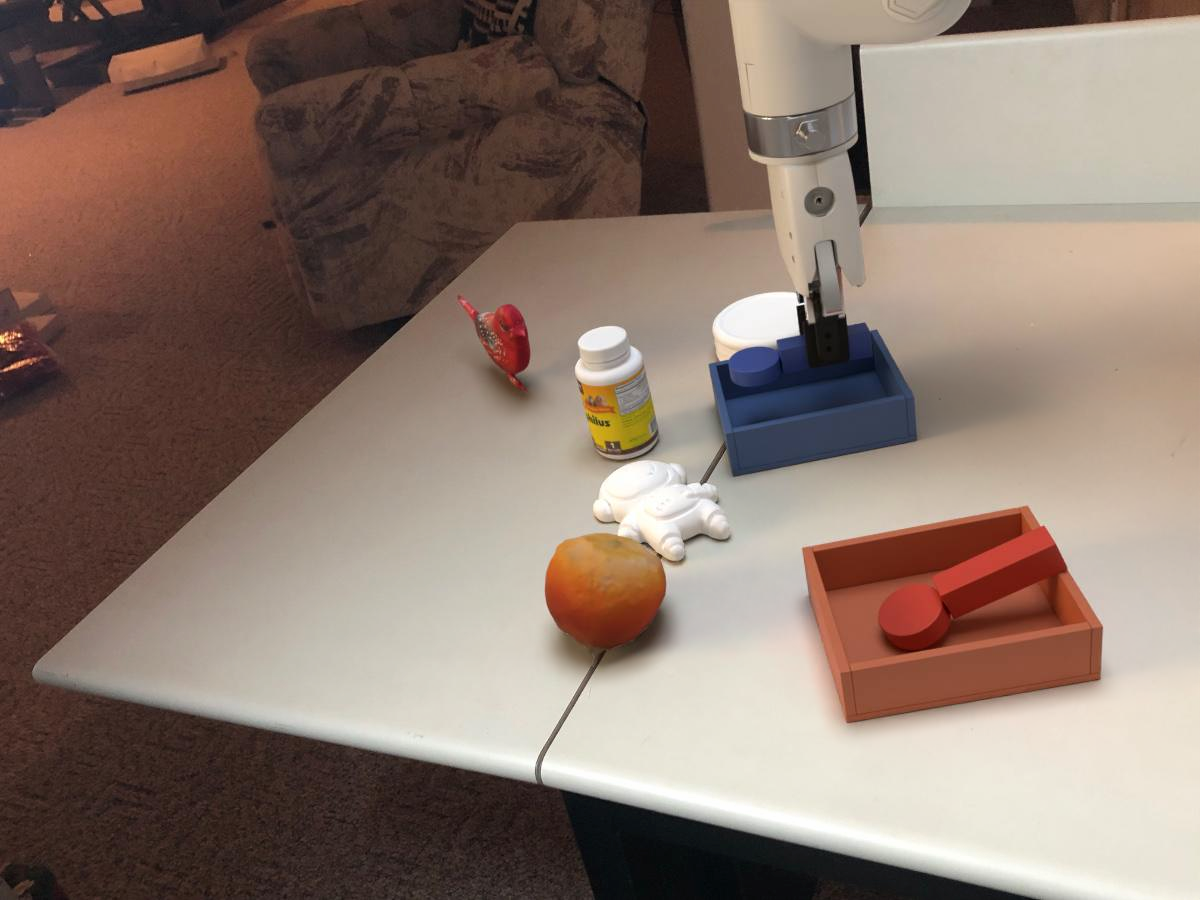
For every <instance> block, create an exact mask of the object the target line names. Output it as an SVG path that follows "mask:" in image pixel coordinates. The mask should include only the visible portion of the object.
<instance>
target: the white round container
mask: <svg viewBox="0 0 1200 900" xmlns="http://www.w3.org/2000/svg"><path fill="white" fill-rule="evenodd" d="M799 305H804V303H801V304H799V303H798V300H797V295H796V292H792V291H772V292H770V291H769V292H764V293H763V292H762V293H758V294H753V295H750V296H747V297H744V298H741V299H739V300H736V301H734V302H733V303H730V304H729V305H728V306H726V307H724V309H722V310H721V311H720V312H719V313H718V314H717V315H716V317H715V318H714V320H713V323H712V328H711V333H712V335H713V342H714V346H715V354H716V356H717V359H718V361H724V360H729V359H730V357H731V356H732V355H733V354H735V353H736V352H738V351H740V350H743V349H746V348H750V347H757V346H763V347H769V348H772V349H774V350H777V342H776V341H777V340H778V339H783V338H788V337H793V336H798V335H800V333H799V325H798V317H797V309H796V306H799Z"/></svg>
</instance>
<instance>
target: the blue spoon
mask: <svg viewBox="0 0 1200 900" xmlns="http://www.w3.org/2000/svg"><path fill="white" fill-rule="evenodd" d="M847 329H848V340H849V351H850V359H849V360H848V361H853V360H858V359H863V358H868V357H872V356H873V354H872V341H871V332H870V331H871V330H870V328H869V327H868V325H867V323H866V322H858V323H855V324H849V325H847ZM776 342H777V350H778V352H777V351H776V350H774V349H772V348H769V347H763V346H757V347H750V348H746V349H743V350H740V351H738V352H736V353H735V354H733V355H732V356H731V357H730V359H729V362H728V364H729V370H730V377H731V380H732V381H733V382H734V383H735V384H737V385H740V386H744V387H758V386H763V385H766V384H769V383H771V382H773V381H774V380H776V379H777V378H778V377H779V376H780V374H781V369H782V372H783V374H786V373H792V372H797V371H802V370H807V369H812V368H810V367H809V365H808V362H807V355H806V347H805V338H804V335H798V336H793V337H788V338H783V339H778V340H777V341H776Z"/></svg>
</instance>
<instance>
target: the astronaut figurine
mask: <svg viewBox="0 0 1200 900" xmlns="http://www.w3.org/2000/svg"><path fill="white" fill-rule="evenodd" d="M686 483H687V472H686V470H685V469H684V467H683V466H682V465H681V464H678V463H674V462H670V463H666V462H663V461H657V460H651V459H650V460H649V459H644V460H638V461H633V462H629V463H627V464H624V465H622V466H621V467H619V468H618V469H615V470H614V471H613V472H612V473H611V474H610V475H608V476H607V478H605V480H604V481H603V482H602V484H601V486H600V488H599V492H598V493H599V494H598V499H596V500H595V501H594V503H593V506H592V510H593V515H594V516H595V518H596V519H598V521H600V522H604V523H613V522H617V523H619V526H618V531H617V535H618V536H622V537H628V538H630V539H632V540H634V541H636V542H638V543H640V544H642V543H646V544H648V545H649V546H650V547H651V548H653V549H654V551H655V552H656V553H657V554H660V556H662V557H664V558H665V559H667V560H670V561H672V562H678V561H681V560H682V559H684V558H685V554H686V550H685V543H684V541H686V540H689V539H691V538H693V537H695V536H697V535H700V534H703V535H705V536H708V537H710V538H712V539H715V540H726V539H728V538H729V537H730V536H731V528H730V525H729V520H728V518H727V516H726V515H725V512H724V510H723V508H721V507H720V506H719V505H718V504H717V501H718V499H719V489H718V487H717V486H716V485H713V484H711V483H708V482H704V483H703V484H702V485H701V483H700V482H693V483H690V484H689V483H688V484H686Z"/></svg>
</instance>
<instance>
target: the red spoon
mask: <svg viewBox="0 0 1200 900" xmlns="http://www.w3.org/2000/svg"><path fill="white" fill-rule="evenodd" d="M1040 526H1041V527H1039V528H1037V529H1034V530H1032V531H1030V532H1028V533H1026V534H1023V535H1021V536H1019V537H1017V538H1015V539H1013V540H1010V541H1008V542H1006V543H1004V544H1002V545H1000V546H997V547H995V548H993V549H991V550H989V551H986V552H984V553H982V554H980V555H978V556H976V557H973V558H971V559H969V560H967V561H965V562H963V563H960V564H958V565H956V566H954V567H952V568H949V569H947V570H945V571H943V572H941V573H939V574H936V575H934V576H932V579H933V581H934V584H935V586H936V588H937V590H938V591H937V590H936V589H935V588H933V587H932V586H929V585H926V584H911V585H907V586H904V587H902V588H900V589H898V590H896V591H894V592H893V593H892V594H890V595H889V596H888V597H887V598H886V599H885V600H884V602H883V603H882V605H881V607H880V609H879V613H878V622H879V625H880V627H881V628H882V630H883V631H884V633H885V635H886V636H887V638H888V639H889V641H890V642H891V643H892V644H893V645H894V646H896V647H898V648H901V649H904V650H917V649H922V648H925V647H927V646H929V645H931V644H933V643H935V642H936V641H937V640H939V639H940V638H941V637H942V636H943V635H944V633H945V632H946V631H947V629H948V627H949V624H950V619H951V615H952V617H953V618H954V619H956V618H959V617H961V616H963V615H965V614H968V613H970V612H972V611H974V610H977V609H979V608H981V607H983V606H986V605H988V604H990V603H992V602H994V601H997V600H999V599H1001V598H1003V597H1006V596H1008V595H1010V594H1012V593H1015V592H1017V591H1019V590H1021V589H1024V588H1026V587H1028V586H1030V585H1033V584H1035V583H1037V582H1039V581H1042V580H1044V579H1046V578H1048V577H1051V576H1053V575H1055V574H1057V573H1060V572H1062V571H1064V570H1066V569H1068V568H1069V567H1068V565H1067V563H1066V561H1065V559H1064V557H1063V555H1062V553H1061V551H1060V549H1059V547H1058V545H1057V543H1056V541H1055V540H1054V538H1053V537H1052V535H1051V533H1050V532H1049V530H1048V529H1047V527H1046V525H1040ZM1068 570H1069V569H1068ZM950 614H951V615H950Z"/></svg>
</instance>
